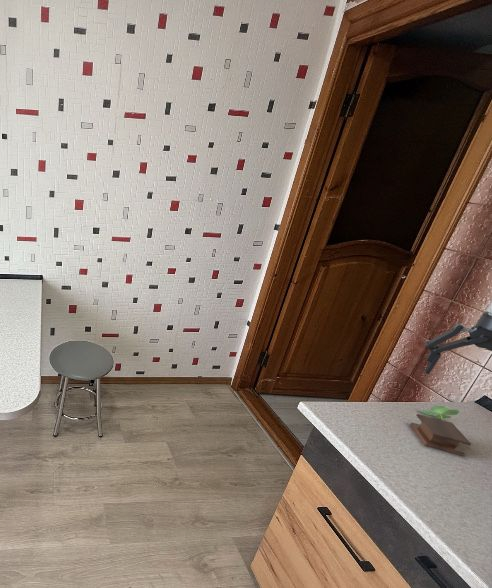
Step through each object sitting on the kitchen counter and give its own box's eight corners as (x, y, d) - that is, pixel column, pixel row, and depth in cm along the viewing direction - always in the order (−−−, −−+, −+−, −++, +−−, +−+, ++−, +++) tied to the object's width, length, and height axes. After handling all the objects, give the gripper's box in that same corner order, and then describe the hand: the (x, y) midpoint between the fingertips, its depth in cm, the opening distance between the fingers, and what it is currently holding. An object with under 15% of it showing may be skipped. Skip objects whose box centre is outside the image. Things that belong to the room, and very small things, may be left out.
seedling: (429, 436, 100) (425, 415, 103) (469, 438, 94) (462, 415, 97) (421, 426, 97) (416, 405, 101) (461, 427, 91) (454, 405, 95)
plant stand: (443, 434, 94) (452, 422, 93) (462, 456, 87) (471, 443, 86) (409, 425, 97) (416, 413, 95) (424, 445, 90) (432, 433, 88)
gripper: (580, 332, 80) (524, 400, 88) (437, 297, 95) (402, 358, 103) (592, 343, 74) (531, 414, 83) (439, 303, 90) (401, 367, 98)
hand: (459, 383), depth 93 cm, fingers open, 13 cm apart
